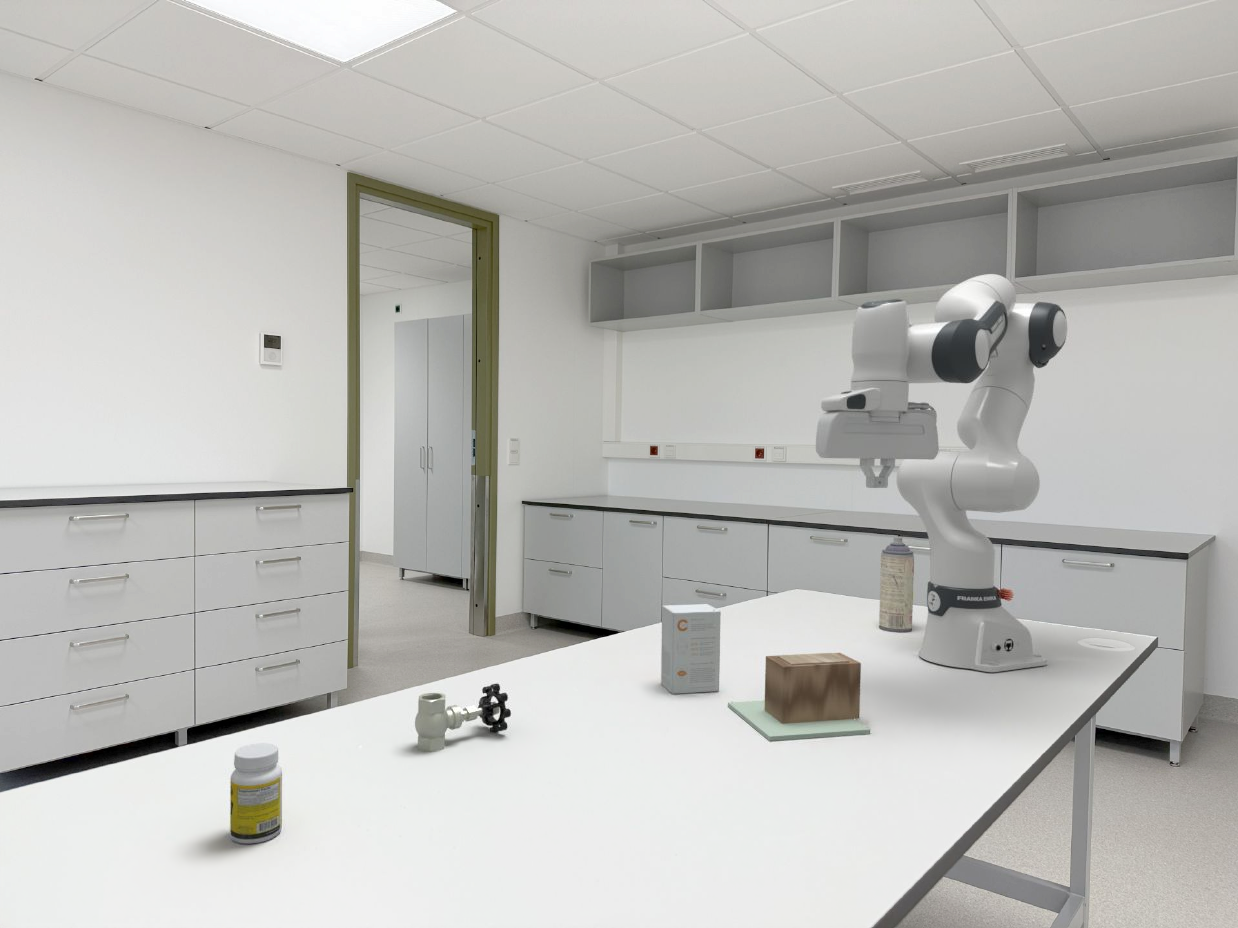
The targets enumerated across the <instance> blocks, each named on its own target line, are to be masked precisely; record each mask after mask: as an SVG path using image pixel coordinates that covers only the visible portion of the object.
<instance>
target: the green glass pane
mask: <svg viewBox="0 0 1238 928" xmlns="http://www.w3.org/2000/svg"><path fill="white" fill-rule="evenodd" d="M727 707H728V708H729V709H730V710H732V711H733V712H734V713H735V714H737V716H739V718H741V719H742V720H743V721H745V722H746V723H747V724H748V725H750V726H751V727H752V728H753V729H755V730H756V731H757V732H758V733H759V734H760V735H761V736H763V737H764V738H765V739H766V740H768V741H769V742H776V741H790V740H803V739H805V740H806V739H817V738H828V737H829V738H831V737H845V736H846V737H847V736H858V735H869V734H871V729H870V728H869V727H867V726H866V725H864V724H863V723H861V722H859V721H858V720H857V719H845V720H831V721H816V722H801V723H786V724H782V723H780V722H779V721H778V720H776V719H775V718H774V717H773V716H771V715H770V714H769V713H767V712H766V711H765V710H764V708H765V699H764V700H750V701H748V700H747V701H733V702H731V701H730V702H727Z"/></svg>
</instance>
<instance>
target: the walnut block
mask: <svg viewBox="0 0 1238 928" xmlns="http://www.w3.org/2000/svg"><path fill="white" fill-rule="evenodd" d="M861 669H862V662H860V661H859V660H855V659H854V658H851V657H850V656H848V655H846V654H843V653H841V652H823V653H822V652H821V653H820V652H819V653H801V654H799V653H798V654H779V655H778V654H777V655H765V675H764V677H765V678H764V679H765V680H764V700H765V708H764V710H765V711H766V712H767V713H769V714H770V715H771V716H773V717H774V718H775V719H776V720H778V721H779V722H780V723H782V724H786V723H801V722H816V721H831V720H845V719H855V720H857V719H859V720H860V711H861V709H860V708H861V675H862V674H861V673H862V670H861Z"/></svg>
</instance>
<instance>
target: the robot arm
mask: <svg viewBox="0 0 1238 928" xmlns="http://www.w3.org/2000/svg"><path fill="white" fill-rule="evenodd" d="M1066 316H1067V315H1066V313H1065V311H1064V310H1063V309H1062V308H1061V306H1060V305H1058V304H1056V303H1051V302H1047V301H1046V302H1045V301H1037V302H1036V303H1030V302H1029V303H1028V302H1021V303H1020V302H1019V303H1017V293H1016V289H1015V287H1014V285H1013V284H1012V282H1011V281H1009V280H1008V278H1006V277H1004V276H1002V275H1000V274H995V273H988V274H987V273H985V274H981V275H977V276H973V277H970V278H968V279H966V280H964V281H962V282H960V283H958V284H956V285H955V286H953V287H951V288H950V289H949V290H947V291H946V292H945V293H944V294H943V295H942V296H941V298H940V299H939V300H938V301H937V303H936V306H935V309H934V322H933V323H932V322H931V323H922V324H914V323H913V322H911V320H909V311H908V305H907V302H906V300H903V299H899V298H894V299H893V298H892V299H886V300H885V299H883V300H877V301H867V302H865V303H862V304H861V305H859V306H858V308H857V310H856V313H855V316H854V321H853V329H852V339H851V359H852V363H853V372H852V376H851V379H850V389H849V390H847V391H842V392H841V393H837V394H833V395H830V396H827V397H825V398H823V399H821V402H820V404H821V405H820V406H821V410H822V411H823V412H824V413H822V414H821V415H820V417H819V419H818V421H817V425H816V426H817V428H816V433H815V434H816V436H815V451H816V453H817V454H818V456H819V458H821V459H822V458H823V459H855V460H856V459H859V467H860V469H861V471H862V473H863V474H864V476H865V486H866V488H869V489H879V488H880V489H887V488H888V487H889V477H890V475H891V474H892V472H893V471H894V469H895V468H896V460H902V461H901V463H900V464H899V467H898V469H897V472H896V486H897V489H898V492H899V494H900V496H902V498H903V499H904V501H906V502H907V503H908V505H910V506H911V507H912V508H913V509H914V510H915V511H916V512H917V514H918V516H919V518H920V519H921V521H922V523H923V525H924V527H925V531H926V533H927V537H928V543H929V559H930V571H929V572H930V575H929V576H930V578H929V579H930V581H928V582H927V593H926V604H927V606H926V607H927V619H926V625H925V632H924V635H923V640H922V643H921V646H920V649H919V651H918V656H919V657H920V658H921V659H924V660H925V661H927V662H931V663H934V664H938V665H941V666H942V665H943V666H946V667H953V668H960V669H970V670H975V671H980V672H986V673H998V672H1005V671H1012V670H1020V669H1026V668H1027V669H1028V668H1035V667H1042V666H1046V665H1047V659H1046V658H1045V657H1044V656H1042V655H1040V654H1038V653H1036V652H1034V650H1033V640H1032V635H1031V632H1030V630H1029V629H1028V627H1027V626H1026V625H1024V624H1023V623H1022V622H1020V620H1018V619H1017V618H1016V617H1014V615H1012V614H1011V613H1010V612H1009V611H1008V610H1006V608H1004V607H1003V606H1002V605H1003V604H1002V601H1001V600H1005V601H1008V602H1009V601H1011V600H1013V599H1014V596H1015V594H1014V592H1013V590H1011V589H1006V588H1004V587H1003V588H1001V589H999V588H998V587H996V586H995V559H996V558H995V556H996V555H995V554H996V553H995V552H996V549H995V547H994V545H993V543H992V541H991V540H990V539H989V537H987V536H986V535H985V534H983V533H982V532H980V531H979V530H977V529H976V528H974V527H973V525H972V524H971V522H970V521H969V519H968V515H967V511H971V512H984V513H994V514H995V513H999V514H1000V513H1001V514H1002V513H1009V512H1017V511H1024V510H1026V509H1027V508H1029V507H1030V506H1032V504H1033V503H1034V501H1035V500H1036V498H1037V496H1038V494H1039V490H1040V486H1041V485H1040V483H1041V482H1040V481H1041V480H1040V476H1039V473H1038V469H1037V468H1036V466H1035V464H1034V463H1033V462H1032V460H1031V459H1029V458H1028V457H1026V456H1025V455H1023V453H1022V452H1021V451H1020V449H1019V445H1018V440H1019V437H1020V433H1021V431H1022V427H1023V425H1024V423H1025V420H1026V418H1027V415H1028V412H1029V410H1030V406H1031V403H1032V399H1033V396H1034V389H1035V381H1036V380H1035V378H1036V377H1035V374H1034V368H1037V369H1042V368H1044V367H1046V366H1047V365H1048V364H1049V362H1050V360H1051V359H1053V358H1054V357H1056V356H1057V354H1059V352H1060V351H1061V350H1062V349H1063V347H1064V346H1065V343H1066V339H1067V336H1068V335H1067V334H1068V323H1067V317H1066ZM976 380H977V381H976ZM975 381H976V383H975V385H974V386H973V389H972V391H971V392H970V394H969V396H968V397H967V400H966V403H965V405H964V407H963V410H962V411H961V413H960V416H959V418H958V421H957V424H956V425H957V426H956V427H957V428H956V429H957V436H958V437H959V439H960V440H961V442H962V443H963V444H964V446H966V447H967V448H968V449H969V450H964V451H959V450H958V451H957V450H954V451H953V450H939V435H938V427H937V422H938V421H937V419H938V418H937V417H938V414H937V410H936V409H935V407H933V406H932V405H930V404H929V403H928V402H914V401H912V402H911V401H909V388H910V387H909V384H932V383H933V384H934V383H935V384H936V383H937V384H938V383H939V384H940V383H949V384H950V383H951V384H972V383H973V382H975ZM876 459H877V460H880V462H879V463H880V466H881V467H882V468H881V471H880V473H879V474H878V476H876V474H875V472H874V470H873V468H872V467H874V466H875V461H876Z"/></svg>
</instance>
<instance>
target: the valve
mask: <svg viewBox="0 0 1238 928" xmlns="http://www.w3.org/2000/svg"><path fill="white" fill-rule="evenodd" d="M500 691H501V686H500V684H499V683H497V682H496V683H493V684H490V685H487V686H483V687H482V690H481V692H482V694H486V695H485V696H482V697H480V699H479V701H478V707H476V706H475V705H472V706H471V705H470V706H467V707H464V708H463V709H462V708H460V707H459V706H458V705H456V704H453V705H450V706H447V707H446V694H444V693H439V692H427V693H422V694H420V695H419V696H418V703H417V705H418V708H417V711H418V712H417V713H416V716H415V721H414V727H415V731H416V733H417V735H418V736H417V750H418V751H420V750H421V752H426V753H427V752H428V753H433V752H437V751H442V750H444V749H445V746H446V745H445V744H446V734H445V733H446V732H447V730H449V729H450V730H451V731H452V730H458V729H460V728H461V727H462V726H463V725H462V724H463V722H464V721H465V722H472V721H474V720H476V719H478V717H479V718H480V719H481V722H482V723H483V724H485V725H486V726H488V727H489V732H490V733H491V732H492V733H491V734H495V733H498V732H503V731H507V730H508V723H507V721H506V719H508V718H510V717H511V715H512V712H511V709H510V708H507V707H506V702H507V701H508V700H509V697H508V695H509V694H507V692H502V693H501V692H500ZM493 697H494V698H495V699H496V700H497V701H492V698H493ZM498 714H499V715H498ZM496 715H498V718H497V719H496V718H495V717H494V716H496Z"/></svg>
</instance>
